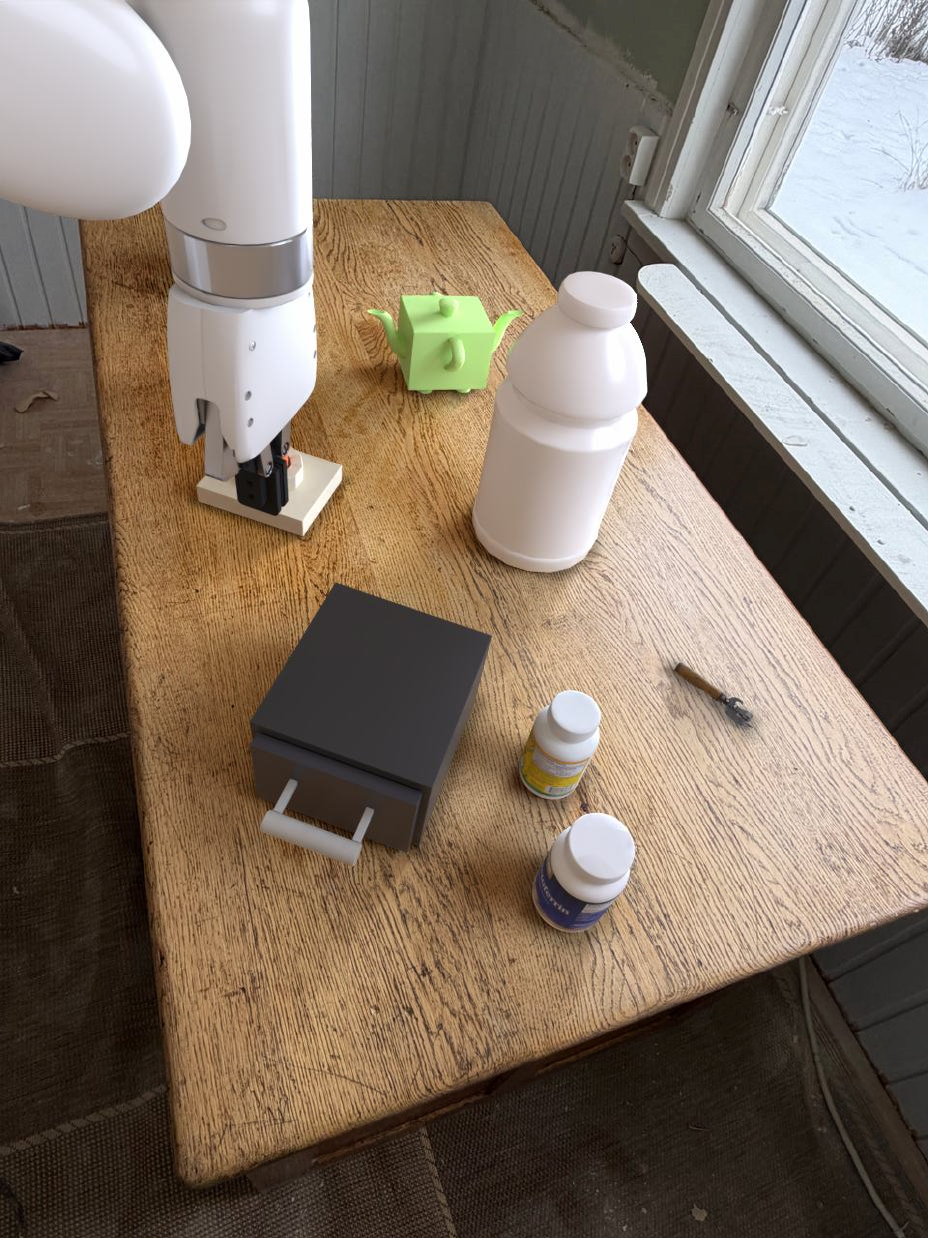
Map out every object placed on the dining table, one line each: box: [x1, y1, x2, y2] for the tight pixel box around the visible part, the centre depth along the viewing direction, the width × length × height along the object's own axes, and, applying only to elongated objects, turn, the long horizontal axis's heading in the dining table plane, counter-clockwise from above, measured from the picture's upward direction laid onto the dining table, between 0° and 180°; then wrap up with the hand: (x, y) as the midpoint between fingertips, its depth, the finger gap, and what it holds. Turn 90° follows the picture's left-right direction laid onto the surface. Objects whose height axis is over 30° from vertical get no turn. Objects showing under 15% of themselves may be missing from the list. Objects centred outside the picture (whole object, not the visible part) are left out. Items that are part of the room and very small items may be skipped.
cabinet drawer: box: [249, 732, 422, 867], centre depth 60 cm, size 18×13×8 cm
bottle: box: [471, 270, 648, 573], centre depth 76 cm, size 14×14×28 cm
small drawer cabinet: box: [249, 582, 493, 848], centre depth 63 cm, size 15×14×10 cm
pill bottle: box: [532, 812, 636, 933], centre depth 56 cm, size 6×6×10 cm
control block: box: [195, 446, 343, 537], centre depth 83 cm, size 12×10×4 cm
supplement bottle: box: [518, 689, 602, 800], centre depth 63 cm, size 5×5×10 cm
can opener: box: [673, 661, 754, 728], centre depth 74 cm, size 9×2×1 cm, turn 43°
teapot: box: [367, 291, 525, 395], centre depth 99 cm, size 15×13×11 cm
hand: (263, 503), depth 56 cm, fingers closed
